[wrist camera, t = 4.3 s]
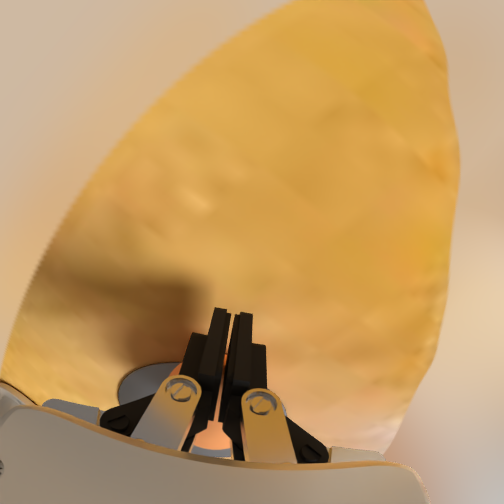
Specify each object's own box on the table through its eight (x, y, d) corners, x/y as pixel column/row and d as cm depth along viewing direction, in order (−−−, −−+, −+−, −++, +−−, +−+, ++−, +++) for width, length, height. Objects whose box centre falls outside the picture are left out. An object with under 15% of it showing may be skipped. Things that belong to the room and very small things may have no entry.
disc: (246, 464, 20) (246, 466, 20) (116, 426, 18) (115, 428, 18) (320, 393, 16) (320, 395, 16) (128, 332, 14) (127, 334, 14)
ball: (249, 338, 16) (238, 408, 16) (158, 335, 14) (158, 411, 14) (295, 379, 11) (274, 460, 11) (170, 387, 9) (171, 472, 9)
